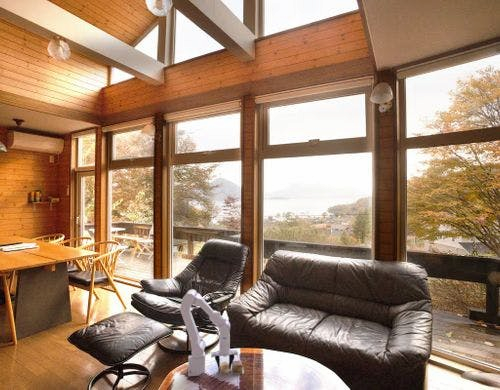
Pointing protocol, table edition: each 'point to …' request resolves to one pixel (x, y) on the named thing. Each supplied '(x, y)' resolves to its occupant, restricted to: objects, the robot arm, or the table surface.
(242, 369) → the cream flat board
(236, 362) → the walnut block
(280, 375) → the table surface
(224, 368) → the maple cube
